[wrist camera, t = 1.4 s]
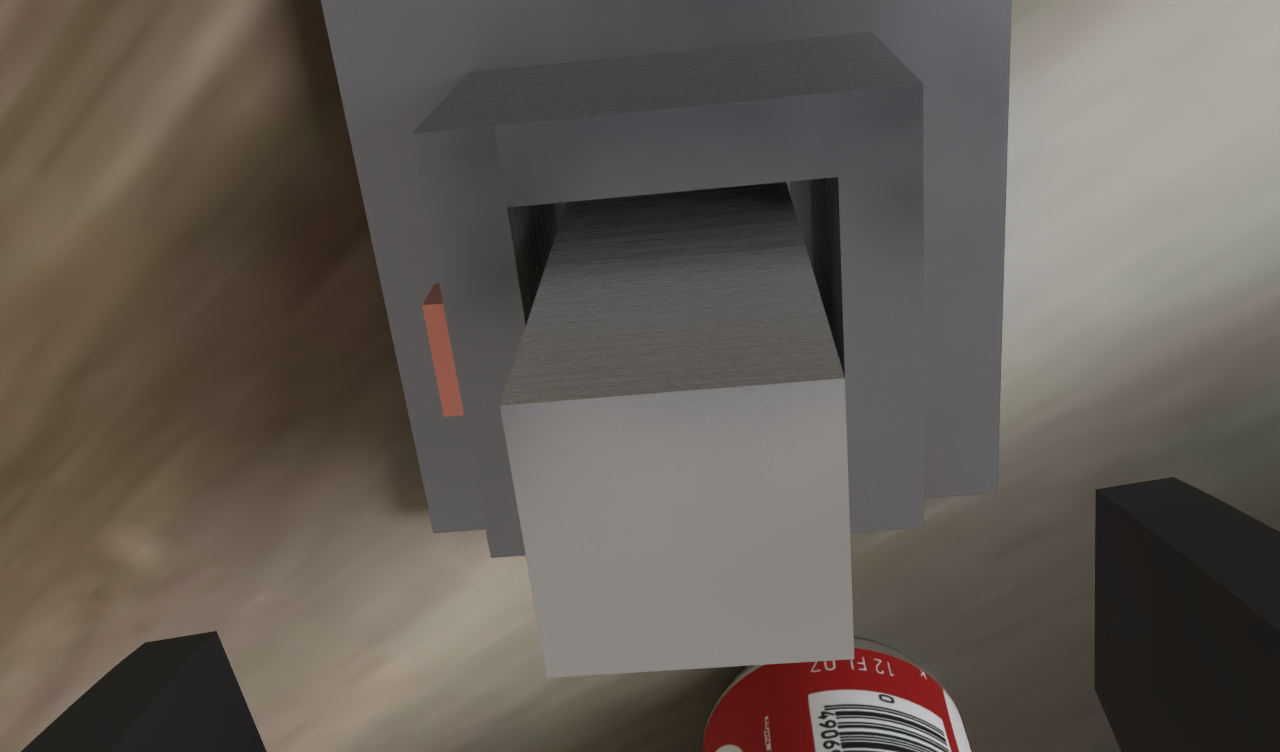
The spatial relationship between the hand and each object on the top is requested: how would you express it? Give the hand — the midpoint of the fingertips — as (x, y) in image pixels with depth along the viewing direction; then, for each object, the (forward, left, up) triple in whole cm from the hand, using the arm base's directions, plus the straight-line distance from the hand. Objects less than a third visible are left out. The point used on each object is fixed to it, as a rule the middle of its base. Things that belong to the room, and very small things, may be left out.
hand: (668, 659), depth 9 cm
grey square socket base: (0, 0, -11) cm, 11 cm away
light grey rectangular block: (0, 0, -10) cm, 10 cm away
